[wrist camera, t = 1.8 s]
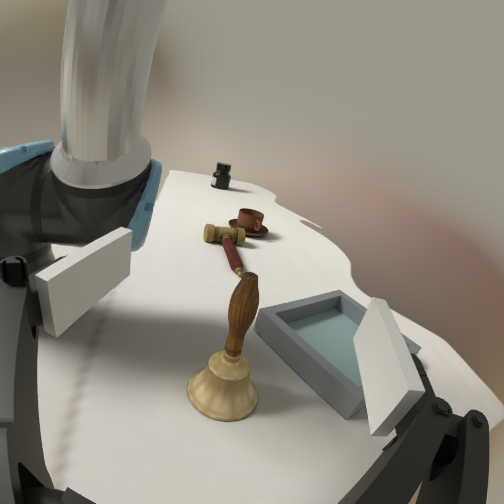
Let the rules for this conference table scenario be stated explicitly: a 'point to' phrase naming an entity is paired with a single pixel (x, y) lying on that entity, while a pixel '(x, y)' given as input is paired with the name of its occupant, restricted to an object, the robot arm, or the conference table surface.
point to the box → (321, 345)
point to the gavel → (227, 243)
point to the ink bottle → (221, 176)
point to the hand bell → (229, 363)
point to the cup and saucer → (249, 222)
